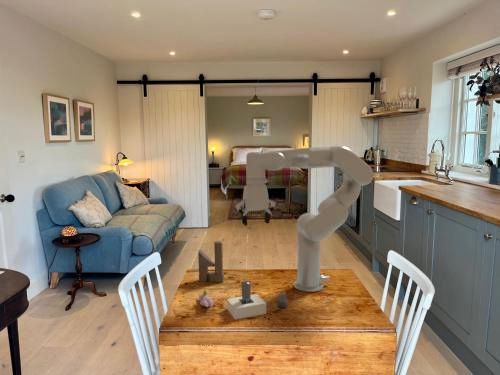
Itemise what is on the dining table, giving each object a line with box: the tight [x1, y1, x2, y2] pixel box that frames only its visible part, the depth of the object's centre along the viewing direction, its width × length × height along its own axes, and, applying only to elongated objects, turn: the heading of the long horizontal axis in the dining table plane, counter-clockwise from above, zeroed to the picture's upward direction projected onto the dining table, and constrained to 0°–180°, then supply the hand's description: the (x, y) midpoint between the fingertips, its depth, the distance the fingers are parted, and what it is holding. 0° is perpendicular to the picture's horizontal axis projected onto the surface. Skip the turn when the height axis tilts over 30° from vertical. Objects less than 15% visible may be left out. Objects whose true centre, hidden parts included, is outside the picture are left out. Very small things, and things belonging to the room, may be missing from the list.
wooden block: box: [197, 240, 225, 283], centre depth 168 cm, size 4×11×18 cm, turn 85°
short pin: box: [277, 293, 288, 310], centre depth 142 cm, size 3×3×4 cm
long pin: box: [241, 280, 252, 304], centre depth 138 cm, size 3×3×11 cm
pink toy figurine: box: [196, 289, 215, 308], centre depth 144 cm, size 6×6×15 cm
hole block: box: [226, 293, 267, 320], centre depth 138 cm, size 12×9×4 cm
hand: (256, 223), depth 155 cm, fingers open, 9 cm apart
